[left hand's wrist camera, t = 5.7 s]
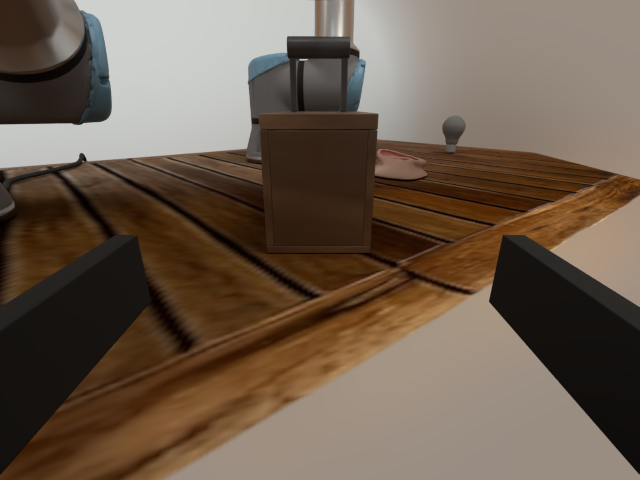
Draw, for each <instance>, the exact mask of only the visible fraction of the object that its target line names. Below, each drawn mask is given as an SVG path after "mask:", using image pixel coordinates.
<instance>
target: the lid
mask: <svg viewBox="0 0 640 480" xmlns="http://www.w3.org/2000/svg"><path fill="white" fill-rule="evenodd" d="M287 54H288V59H289V63H290V98H291V111H280V112H270V113H261V114H259V129H260V130H377V129H378V114H376V113H367V112H357V111H347V79H348V59H349V58H350V36H288V37H287ZM296 59H341V96H340V111H297V73H296Z"/></svg>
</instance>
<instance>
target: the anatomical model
mask: <svg viewBox="0 0 640 480" xmlns="http://www.w3.org/2000/svg"><path fill="white" fill-rule="evenodd" d="M377 156H378V159H379V162H378V163H377V164H376V165H375V176H378V177H384V178H392V179H401V180H413V179H418V178H422V177H425V176H427V173H426V172H425V171H424V170H423V169H422V168H423V167H424V166H426V164H427V162H426V161H425V160H422V159H419V158H416V157H413V156H410V155H406V154H402V153H399V152H395V151H392V150H388V149H379V150H378V152H377Z"/></svg>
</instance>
